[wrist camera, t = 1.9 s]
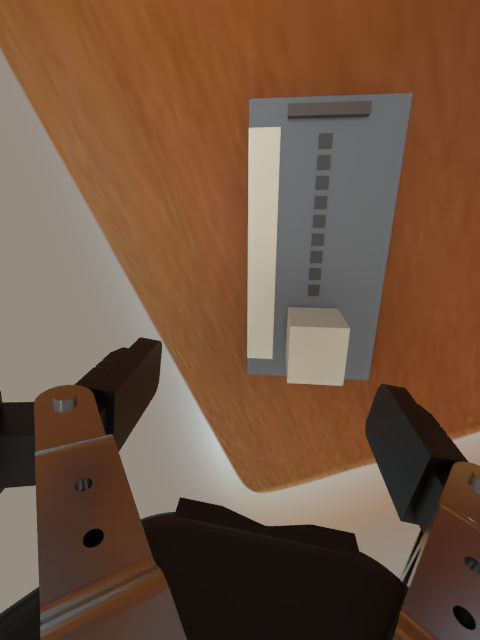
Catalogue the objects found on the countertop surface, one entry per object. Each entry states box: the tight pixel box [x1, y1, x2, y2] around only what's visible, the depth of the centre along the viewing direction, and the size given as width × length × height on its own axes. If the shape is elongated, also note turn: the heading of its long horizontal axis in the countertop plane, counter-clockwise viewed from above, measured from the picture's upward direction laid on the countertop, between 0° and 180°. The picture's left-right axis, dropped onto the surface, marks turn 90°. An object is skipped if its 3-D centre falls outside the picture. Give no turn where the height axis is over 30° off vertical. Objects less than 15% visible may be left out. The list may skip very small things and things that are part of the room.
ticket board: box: [247, 93, 413, 381], centre depth 28 cm, size 12×24×2 cm, turn 0°
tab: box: [286, 307, 350, 386], centre depth 28 cm, size 4×5×5 cm
